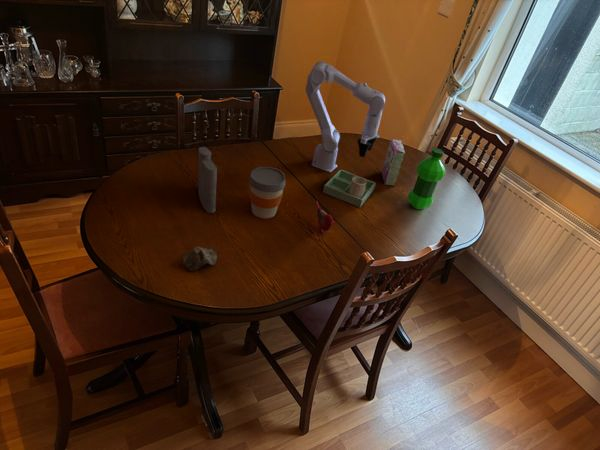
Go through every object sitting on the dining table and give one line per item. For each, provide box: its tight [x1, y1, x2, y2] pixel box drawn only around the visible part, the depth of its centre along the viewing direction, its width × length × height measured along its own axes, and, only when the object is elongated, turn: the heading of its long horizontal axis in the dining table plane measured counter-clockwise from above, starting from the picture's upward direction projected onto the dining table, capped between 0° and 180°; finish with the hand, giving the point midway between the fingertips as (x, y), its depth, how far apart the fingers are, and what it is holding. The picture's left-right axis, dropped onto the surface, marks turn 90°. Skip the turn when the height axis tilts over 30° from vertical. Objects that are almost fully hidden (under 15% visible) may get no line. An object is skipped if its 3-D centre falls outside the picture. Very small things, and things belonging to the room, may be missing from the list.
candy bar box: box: [381, 138, 406, 187], centre depth 189 cm, size 11×5×16 cm, turn 179°
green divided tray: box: [322, 168, 377, 208], centre depth 180 cm, size 16×16×4 cm
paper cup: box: [348, 176, 367, 199], centre depth 174 cm, size 6×6×8 cm
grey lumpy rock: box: [182, 246, 218, 272], centre depth 133 cm, size 8×7×10 cm
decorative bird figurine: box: [315, 199, 334, 235], centre depth 156 cm, size 3×18×10 cm, turn 15°
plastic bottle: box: [407, 147, 446, 210], centre depth 173 cm, size 10×10×25 cm
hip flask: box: [197, 146, 218, 214], centre depth 155 cm, size 16×4×20 cm, turn 23°
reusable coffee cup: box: [248, 166, 286, 219], centre depth 157 cm, size 13×13×15 cm
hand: (364, 153), depth 188 cm, fingers open, 7 cm apart
